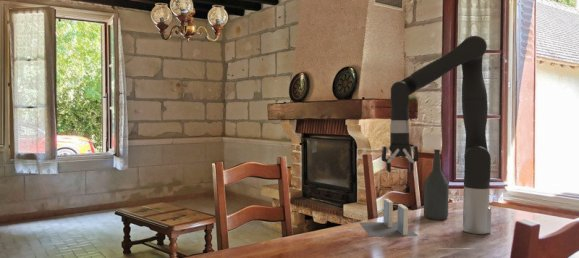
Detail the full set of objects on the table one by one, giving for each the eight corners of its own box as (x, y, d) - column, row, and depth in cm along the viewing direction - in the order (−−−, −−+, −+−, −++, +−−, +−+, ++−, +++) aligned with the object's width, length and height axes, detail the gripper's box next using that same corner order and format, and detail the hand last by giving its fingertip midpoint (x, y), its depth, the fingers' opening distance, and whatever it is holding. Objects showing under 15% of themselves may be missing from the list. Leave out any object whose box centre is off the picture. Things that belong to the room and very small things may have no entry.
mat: (401, 223, 193) (401, 222, 193) (418, 237, 171) (418, 236, 171) (358, 223, 192) (358, 222, 192) (370, 237, 170) (370, 236, 170)
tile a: (387, 222, 192) (387, 198, 192) (392, 227, 184) (392, 202, 184) (383, 222, 192) (383, 198, 191) (388, 227, 184) (388, 202, 183)
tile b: (401, 229, 180) (402, 204, 180) (407, 235, 172) (408, 208, 172) (397, 229, 180) (397, 204, 180) (403, 235, 172) (403, 208, 172)
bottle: (419, 217, 204) (420, 149, 203) (431, 214, 211) (432, 148, 210) (440, 221, 197) (442, 150, 196) (452, 218, 203) (453, 149, 202)
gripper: (414, 131, 190) (414, 170, 190) (380, 131, 190) (380, 171, 190) (420, 131, 182) (420, 173, 183) (384, 132, 182) (384, 173, 182)
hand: (399, 172), depth 186 cm, fingers open, 8 cm apart
